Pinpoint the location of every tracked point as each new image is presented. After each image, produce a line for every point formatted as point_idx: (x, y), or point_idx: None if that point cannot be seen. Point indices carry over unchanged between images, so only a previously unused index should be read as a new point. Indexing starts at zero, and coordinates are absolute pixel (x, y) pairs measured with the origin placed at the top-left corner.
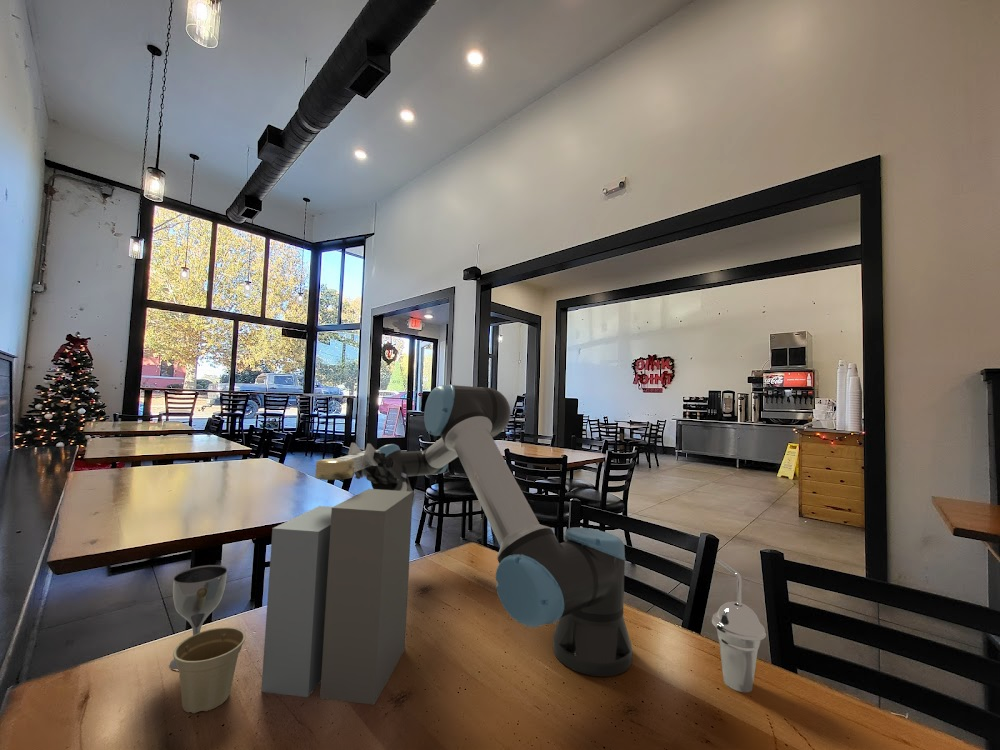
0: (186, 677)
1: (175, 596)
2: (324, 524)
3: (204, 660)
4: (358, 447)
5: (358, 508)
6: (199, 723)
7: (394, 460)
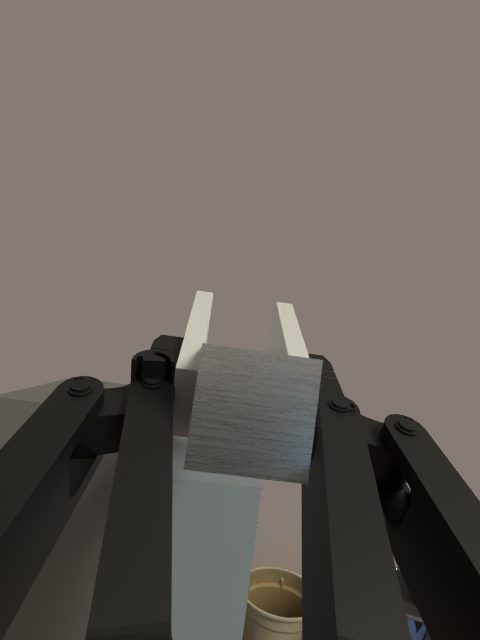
0: (275, 595)
1: (401, 594)
2: (175, 437)
3: (255, 568)
4: (281, 326)
5: (115, 384)
6: (243, 637)
7: (33, 413)
